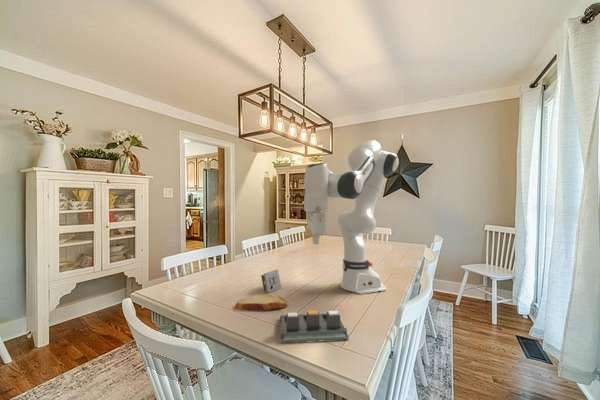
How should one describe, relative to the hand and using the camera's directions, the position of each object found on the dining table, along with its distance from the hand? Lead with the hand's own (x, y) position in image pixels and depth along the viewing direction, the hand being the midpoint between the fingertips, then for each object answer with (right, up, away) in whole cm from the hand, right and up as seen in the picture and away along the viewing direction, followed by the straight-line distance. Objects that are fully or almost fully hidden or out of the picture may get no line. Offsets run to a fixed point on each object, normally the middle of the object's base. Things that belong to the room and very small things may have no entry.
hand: (315, 243), depth 90 cm
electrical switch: (-20, -29, +31) cm, 47 cm away
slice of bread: (-22, -29, +13) cm, 39 cm away
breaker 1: (-8, -28, -8) cm, 30 cm away
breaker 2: (+6, -28, -7) cm, 29 cm away
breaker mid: (-1, -28, -7) cm, 29 cm away
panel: (-2, -29, -5) cm, 30 cm away
